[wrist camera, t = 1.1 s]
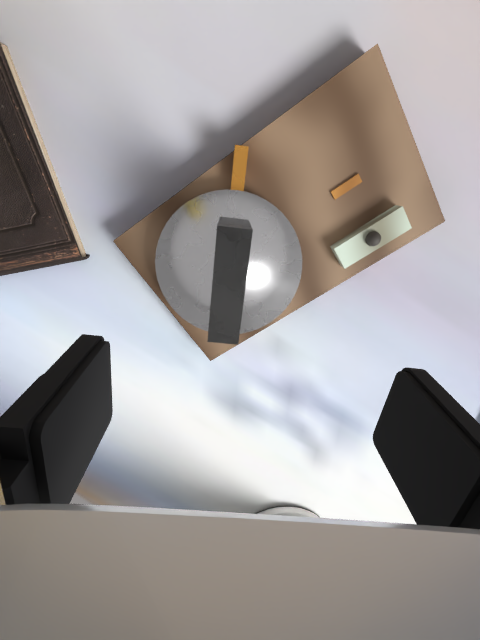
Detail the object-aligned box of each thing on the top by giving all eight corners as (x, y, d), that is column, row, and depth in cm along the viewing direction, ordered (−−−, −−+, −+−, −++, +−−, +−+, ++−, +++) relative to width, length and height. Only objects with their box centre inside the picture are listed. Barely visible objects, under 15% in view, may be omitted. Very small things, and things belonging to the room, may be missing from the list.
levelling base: (211, 351, 33) (209, 371, 30) (120, 237, 29) (104, 245, 25) (431, 218, 28) (459, 223, 25) (366, 54, 24) (390, 31, 20)
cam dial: (285, 333, 30) (300, 374, 24) (158, 321, 29) (137, 360, 23) (319, 157, 24) (350, 148, 18) (160, 136, 24) (134, 119, 17)
